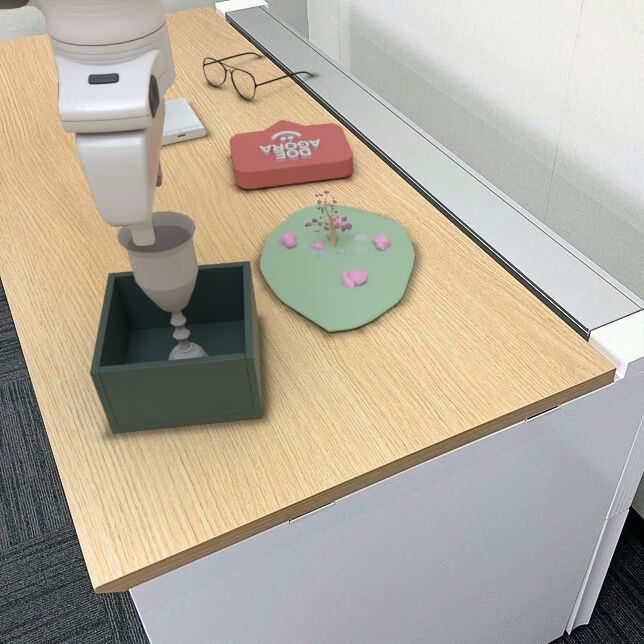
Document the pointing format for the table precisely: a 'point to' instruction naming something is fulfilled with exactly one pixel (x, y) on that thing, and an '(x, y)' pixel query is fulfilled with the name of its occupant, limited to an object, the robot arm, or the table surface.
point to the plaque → (290, 154)
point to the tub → (181, 374)
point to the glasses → (243, 71)
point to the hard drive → (180, 122)
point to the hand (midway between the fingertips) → (150, 210)
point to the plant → (338, 264)
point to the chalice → (168, 272)
